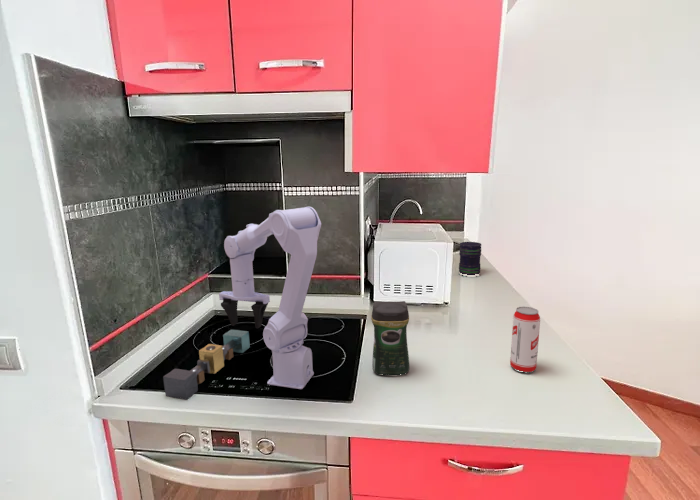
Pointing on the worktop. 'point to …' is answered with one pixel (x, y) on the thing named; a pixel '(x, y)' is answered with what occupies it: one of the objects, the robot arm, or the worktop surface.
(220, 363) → the block
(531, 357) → the beer can
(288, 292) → the robot arm
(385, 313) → the coffee jar
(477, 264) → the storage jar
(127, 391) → the worktop surface
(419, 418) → the worktop surface
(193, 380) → the shaft bench
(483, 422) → the worktop surface
